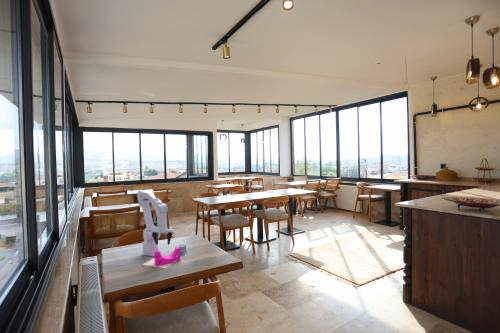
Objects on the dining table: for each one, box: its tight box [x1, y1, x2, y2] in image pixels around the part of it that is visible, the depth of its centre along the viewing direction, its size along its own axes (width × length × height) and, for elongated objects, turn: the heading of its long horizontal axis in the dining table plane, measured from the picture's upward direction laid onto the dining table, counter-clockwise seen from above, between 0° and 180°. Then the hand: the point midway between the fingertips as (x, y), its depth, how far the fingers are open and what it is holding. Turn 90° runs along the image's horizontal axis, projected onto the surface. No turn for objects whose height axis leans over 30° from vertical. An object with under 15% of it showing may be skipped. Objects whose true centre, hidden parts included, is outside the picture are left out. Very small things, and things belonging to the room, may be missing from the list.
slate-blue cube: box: [175, 243, 187, 256], centre depth 188 cm, size 5×5×5 cm
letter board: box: [141, 257, 182, 269], centre depth 173 cm, size 17×16×1 cm
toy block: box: [153, 246, 181, 266], centre depth 172 cm, size 15×6×8 cm, turn 118°
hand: (162, 244), depth 175 cm, fingers open, 7 cm apart
